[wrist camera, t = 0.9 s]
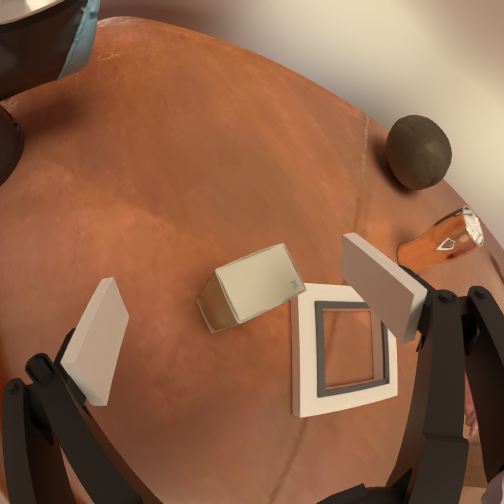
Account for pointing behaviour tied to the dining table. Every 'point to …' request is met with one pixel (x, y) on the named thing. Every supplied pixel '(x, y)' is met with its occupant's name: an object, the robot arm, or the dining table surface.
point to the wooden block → (475, 468)
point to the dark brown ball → (418, 152)
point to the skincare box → (249, 288)
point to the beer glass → (443, 241)
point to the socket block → (313, 354)
